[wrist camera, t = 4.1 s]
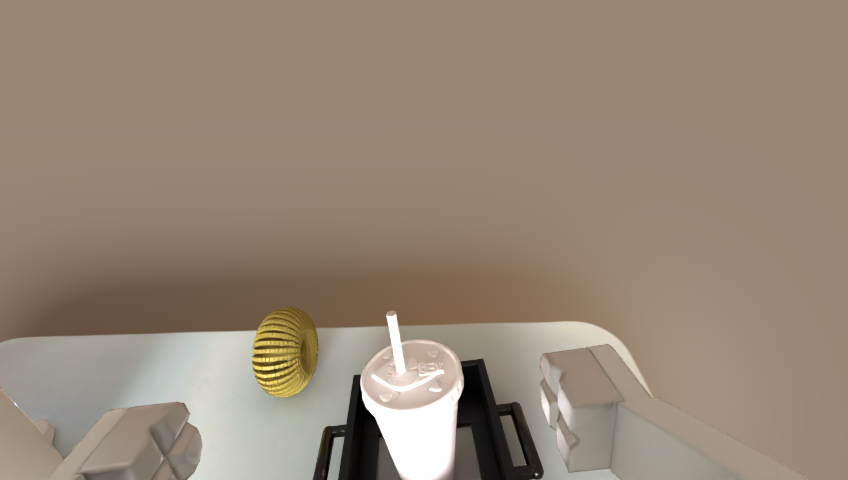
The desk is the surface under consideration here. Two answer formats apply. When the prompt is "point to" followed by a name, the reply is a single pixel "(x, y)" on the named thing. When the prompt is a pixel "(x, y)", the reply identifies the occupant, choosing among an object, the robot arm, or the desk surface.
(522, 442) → the pan
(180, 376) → the desk surface
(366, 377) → the smoothie
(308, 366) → the sculpture
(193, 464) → the robot arm
